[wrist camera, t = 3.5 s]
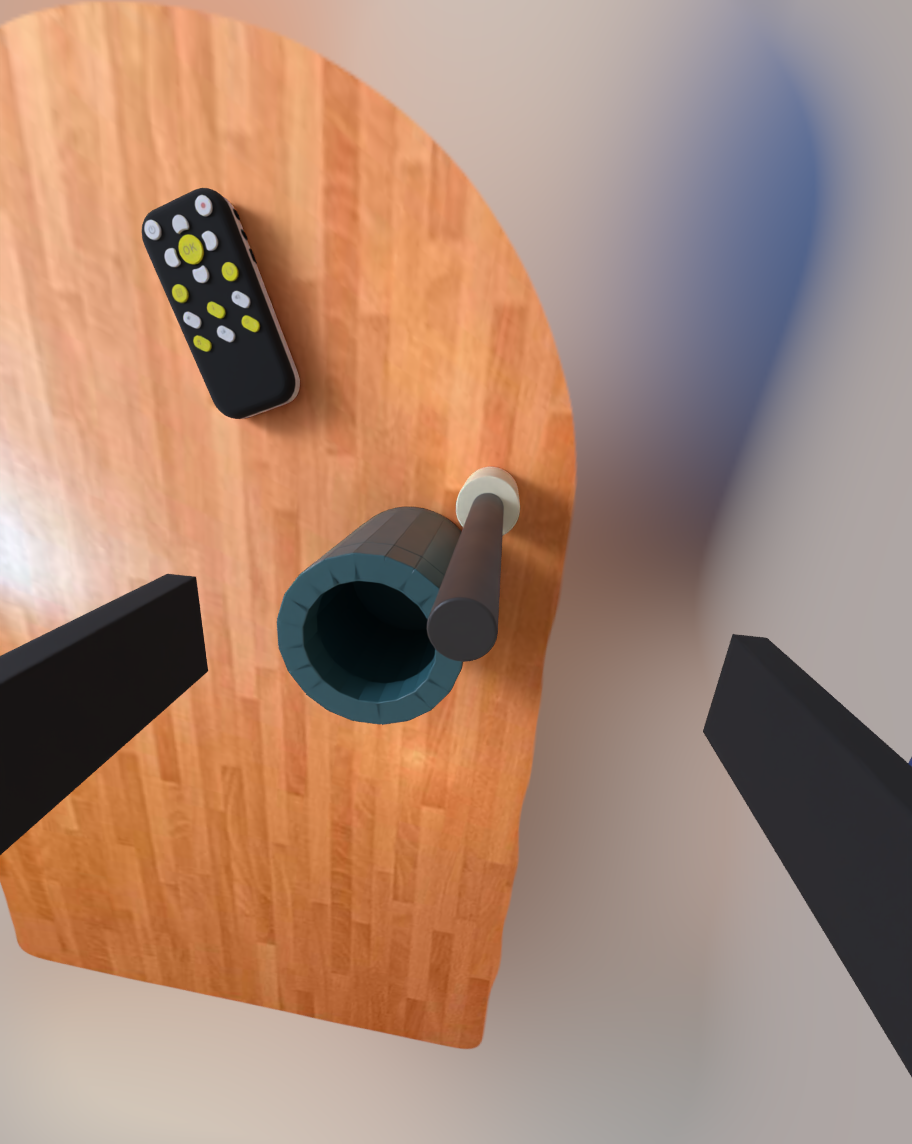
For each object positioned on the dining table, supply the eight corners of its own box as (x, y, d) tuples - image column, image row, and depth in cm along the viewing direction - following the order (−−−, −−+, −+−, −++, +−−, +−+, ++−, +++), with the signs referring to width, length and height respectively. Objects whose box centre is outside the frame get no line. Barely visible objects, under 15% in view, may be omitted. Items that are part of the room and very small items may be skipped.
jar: (483, 513, 34) (470, 564, 23) (471, 637, 38) (456, 735, 26) (347, 500, 35) (271, 544, 24) (348, 623, 38) (282, 712, 27)
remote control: (234, 424, 34) (218, 425, 32) (149, 227, 30) (125, 215, 28) (310, 396, 33) (297, 396, 31) (230, 189, 29) (211, 173, 27)
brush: (521, 468, 33) (543, 571, 12) (515, 524, 34) (524, 700, 14) (465, 464, 33) (392, 555, 12) (460, 519, 34) (389, 683, 14)
